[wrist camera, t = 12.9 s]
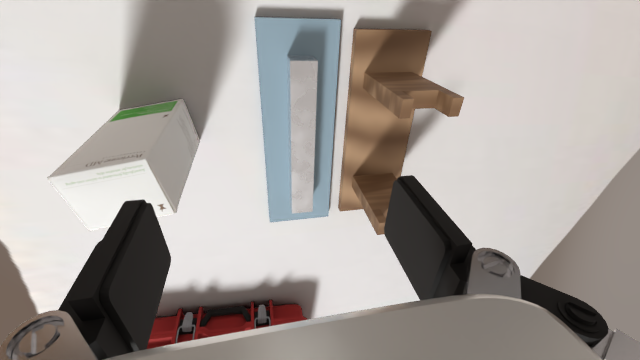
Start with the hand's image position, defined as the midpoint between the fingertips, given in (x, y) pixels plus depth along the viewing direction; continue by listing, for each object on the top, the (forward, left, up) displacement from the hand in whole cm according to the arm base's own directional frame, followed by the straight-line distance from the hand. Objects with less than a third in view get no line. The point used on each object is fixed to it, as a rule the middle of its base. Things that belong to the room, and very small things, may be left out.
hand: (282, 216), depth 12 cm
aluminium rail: (+10, +5, -29) cm, 31 cm away
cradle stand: (+10, +17, -30) cm, 36 cm away
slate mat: (+10, +5, -30) cm, 32 cm away
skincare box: (+8, -13, -30) cm, 34 cm away
